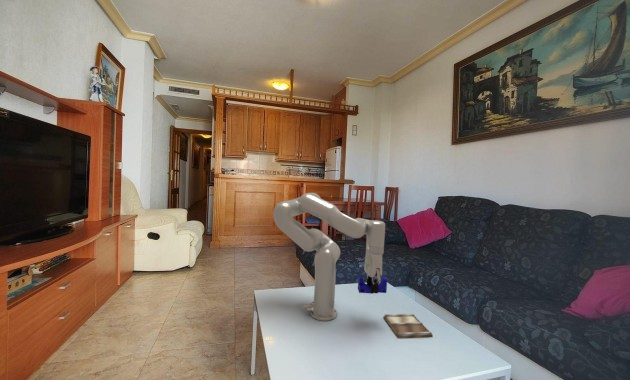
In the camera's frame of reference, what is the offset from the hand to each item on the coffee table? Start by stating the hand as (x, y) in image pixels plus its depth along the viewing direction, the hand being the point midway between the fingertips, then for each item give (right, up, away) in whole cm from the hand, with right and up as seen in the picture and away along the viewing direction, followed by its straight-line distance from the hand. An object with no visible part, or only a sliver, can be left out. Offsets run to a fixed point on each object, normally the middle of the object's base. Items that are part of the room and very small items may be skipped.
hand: (372, 289), depth 115 cm
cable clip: (0, -1, 0) cm, 1 cm away
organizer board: (+15, -16, -1) cm, 22 cm away
